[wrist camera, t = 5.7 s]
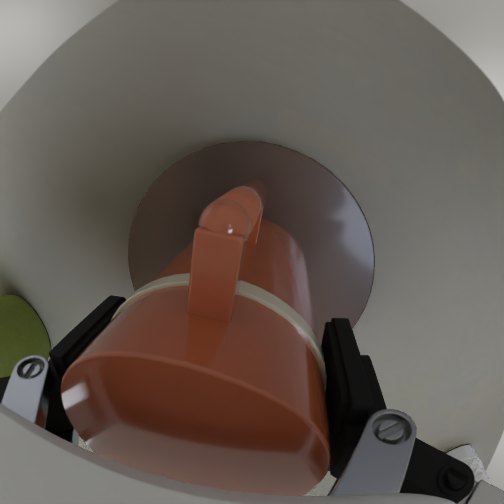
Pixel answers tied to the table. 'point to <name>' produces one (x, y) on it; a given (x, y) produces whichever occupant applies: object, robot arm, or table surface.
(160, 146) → the table surface
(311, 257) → the turntable
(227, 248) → the jug
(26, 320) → the flower pot
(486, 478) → the white cup
